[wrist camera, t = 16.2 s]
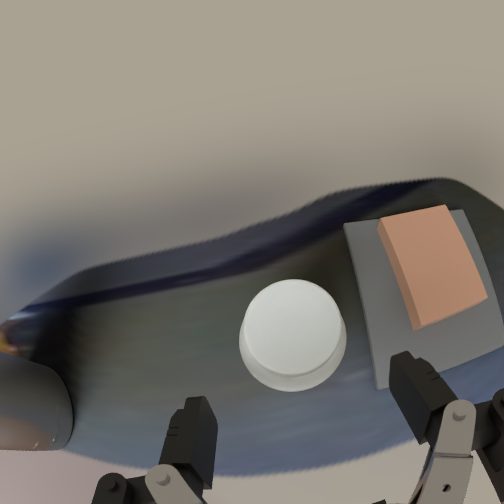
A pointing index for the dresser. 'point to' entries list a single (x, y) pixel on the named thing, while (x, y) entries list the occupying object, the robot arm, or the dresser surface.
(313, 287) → the supplement bottle
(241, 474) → the dresser surface
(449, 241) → the terracotta tile
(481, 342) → the rubber mat
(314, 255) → the dresser surface
